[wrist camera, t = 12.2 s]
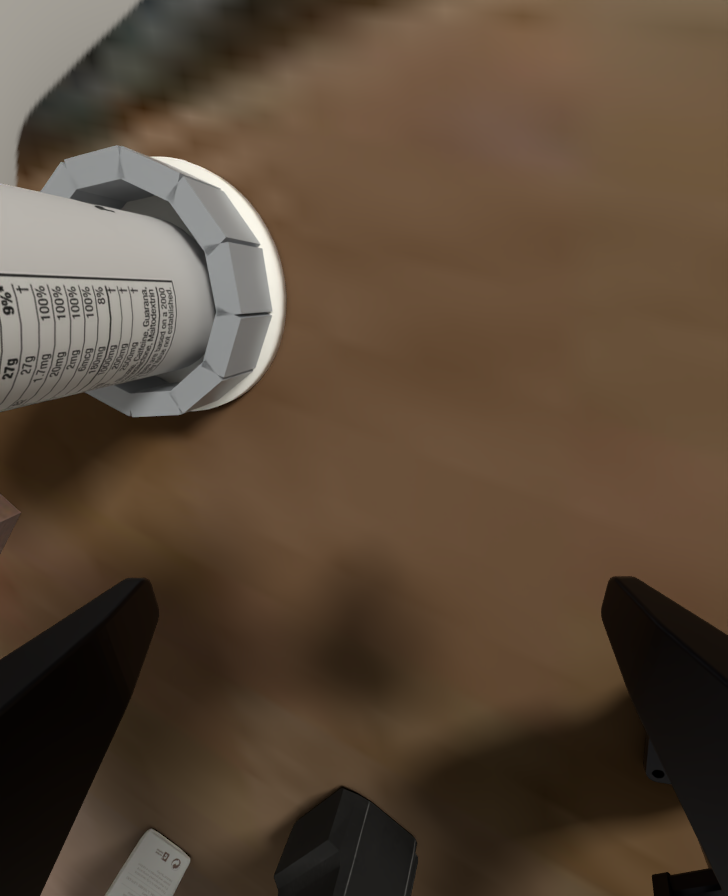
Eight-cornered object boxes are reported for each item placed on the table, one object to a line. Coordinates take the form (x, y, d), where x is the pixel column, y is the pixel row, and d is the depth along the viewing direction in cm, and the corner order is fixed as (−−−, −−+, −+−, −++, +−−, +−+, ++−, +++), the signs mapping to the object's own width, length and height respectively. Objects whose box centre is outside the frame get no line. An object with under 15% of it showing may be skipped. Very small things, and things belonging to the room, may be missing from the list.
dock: (303, 401, 20) (269, 420, 17) (118, 412, 23) (63, 429, 20) (263, 136, 17) (214, 103, 14) (57, 187, 20) (-19, 169, 17)
